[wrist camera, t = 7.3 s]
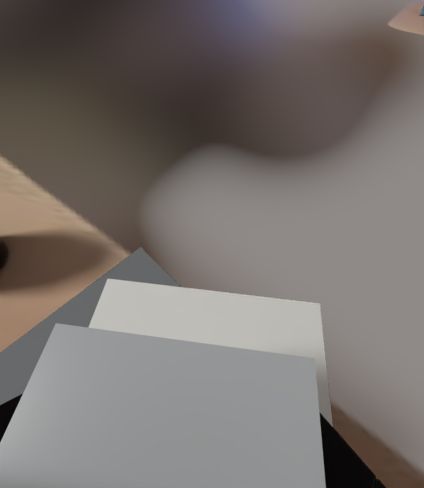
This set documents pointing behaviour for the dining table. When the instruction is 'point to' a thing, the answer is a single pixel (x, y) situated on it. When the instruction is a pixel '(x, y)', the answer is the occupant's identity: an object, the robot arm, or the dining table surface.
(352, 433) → the dining table surface
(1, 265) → the supplement bottle
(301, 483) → the cover
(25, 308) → the dining table surface
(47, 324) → the mat
